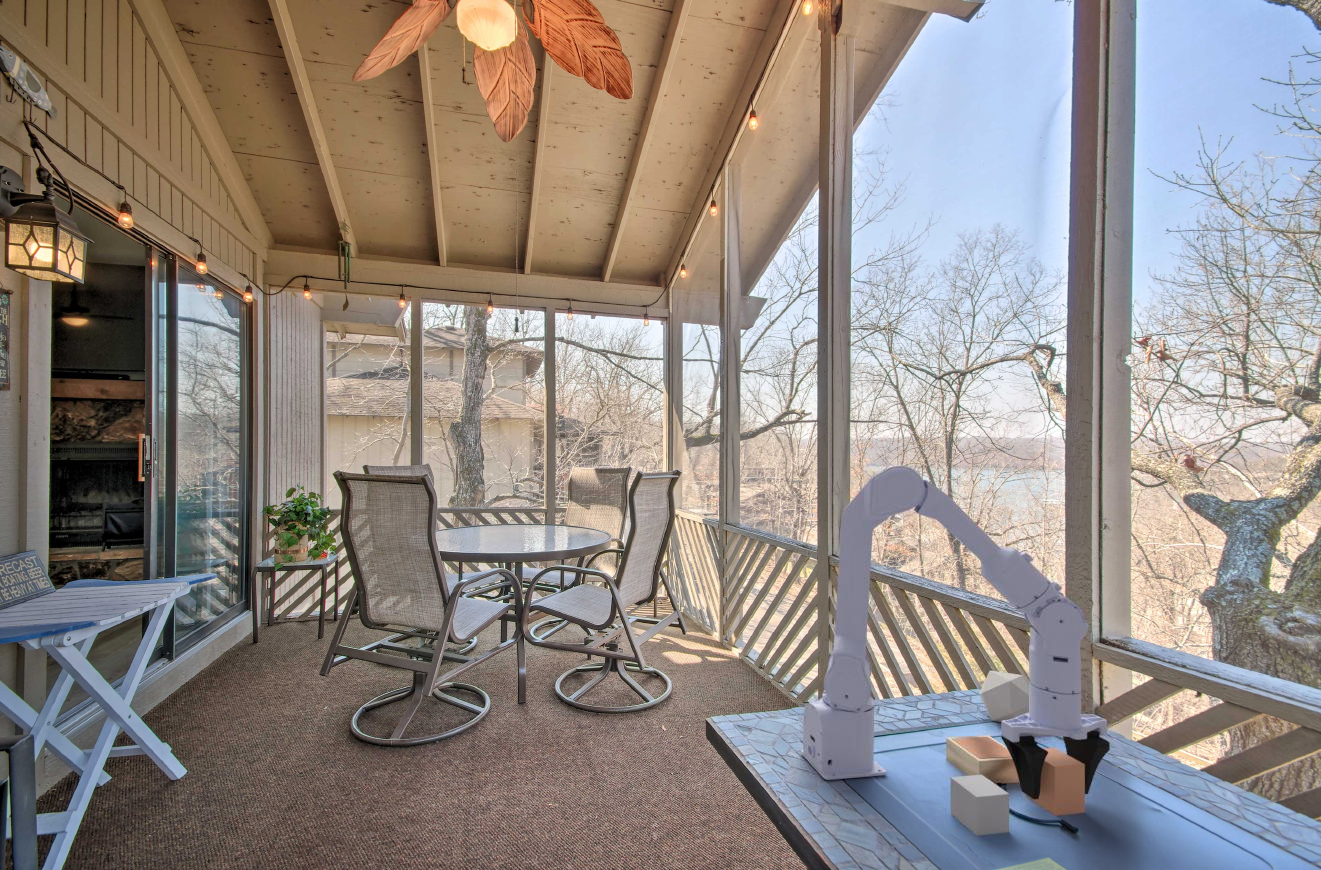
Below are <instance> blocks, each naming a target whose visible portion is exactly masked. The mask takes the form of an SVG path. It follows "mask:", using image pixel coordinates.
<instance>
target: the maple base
mask: <svg viewBox="0 0 1321 870" xmlns="http://www.w3.org/2000/svg"><path fill="white" fill-rule="evenodd" d="M945 743H946V745H945V746H946V747H945V748H946V749H945V751H946V753H945V757H946V758H945V760H946V761H947V762H949V763H950V764H951V765H953V766H954V767H955V768H956V769H957V770H959V771H960V772H961V773H963V774H964V776H972V775H983V776H984V777H986V778H987V779H989V780H990V781H992V782H993V783H994V784H996V785H998V784H997V783H1002V784H1012V783H1013V784H1015V783H1020V782H1019V778H1018V774H1017V771H1016V768H1015V765H1014V762H1013V760H1012V757H1011V755H1010V753H1009V751H1008V749H1007V747H1006V745H1005V744H1003V743H1001V742H1000V741H998V740H996V739H994V738H993V737H991V736H990V735H988V734H987V735H973V736H970V735H968V736H967V735H966V736H954V737H952V736H951V737H949V736H948V737H946V738H945Z"/></svg>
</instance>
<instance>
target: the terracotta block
mask: <svg viewBox="0 0 1321 870" xmlns="http://www.w3.org/2000/svg"><path fill="white" fill-rule="evenodd" d="M1044 749H1045V750H1046V751H1048V754H1047V756H1046V758H1045V761H1044V764H1043V768H1042V772H1041V786H1040V795H1039V798H1038V799H1032V798H1031V797H1029V796H1028V795H1026V794H1025V797H1027V798H1029V799H1030V801H1031V800H1032V801H1033V802H1034V803H1035V804H1036V805H1038V806H1040V807H1042V808H1043V809H1045V810H1046V811H1047V812H1049V813H1050V814H1052V816H1065V815H1075V814H1085V812H1086V801H1085V800H1086V794H1085V764H1083V763H1081V762H1079V761H1078V760H1076V759H1074V758H1072V757H1070V756H1069V755H1067V753H1065V752H1063V751H1061V750H1059V749H1058V748H1056V747H1049V748H1048V747H1046V748H1044Z"/></svg>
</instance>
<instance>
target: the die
mask: <svg viewBox="0 0 1321 870" xmlns="http://www.w3.org/2000/svg"><path fill="white" fill-rule="evenodd" d="M985 678H986V679H985V680H984V683H983V684H982V687H981V689H980V692H979V694H978V695H979V696H980V699H981V701H982V703H983V705H984V708H985V709H986V712H987V714H988V717H989V718H990V720H991V721H992V722H997V723H1001V721H1002V720H1010V719H1013V718H1015V717H1018V716H1021V715H1024V714H1026V713H1029V683H1028V682H1027V680H1026V678H1025V677H1024V675H1023V674H1016V673H1011V672H1003V671H995V670H989V671H988V673H987V676H986V677H985Z"/></svg>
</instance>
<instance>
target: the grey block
mask: <svg viewBox="0 0 1321 870" xmlns="http://www.w3.org/2000/svg"><path fill="white" fill-rule="evenodd" d="M950 813H951V814H950V815H951V816H953V817H954V816H955V817H956V818H955V817H954V818H955V819H956V820H957V819H958V820H957V821H959V823H961V824H962V825H963V826H964V825H965V828H967V829H968V830H969V831H971V833H972V834H974V835H975V836H977V837H978V836H986V835H995V834H1003V833H1010V793H1009V792H1007V791H1006V790H1005V789H1003V788H1001V787H1000V786H998V784H994V783H993V782H992V781H990V780H989V779H987V778H986V777H984V776H983V775H972V776H967V775H963V776H953V777H952V776H951V777H950Z"/></svg>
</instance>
